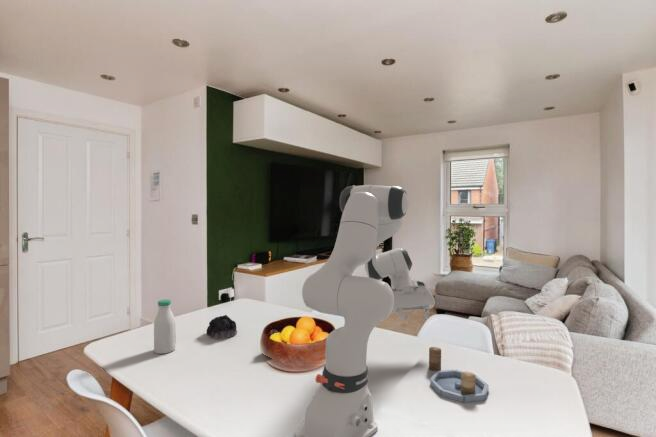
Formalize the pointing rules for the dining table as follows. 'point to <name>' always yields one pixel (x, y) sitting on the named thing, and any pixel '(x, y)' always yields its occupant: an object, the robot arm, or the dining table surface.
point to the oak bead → (468, 383)
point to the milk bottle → (164, 329)
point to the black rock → (221, 327)
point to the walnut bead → (434, 358)
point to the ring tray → (457, 386)
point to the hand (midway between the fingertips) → (416, 319)
